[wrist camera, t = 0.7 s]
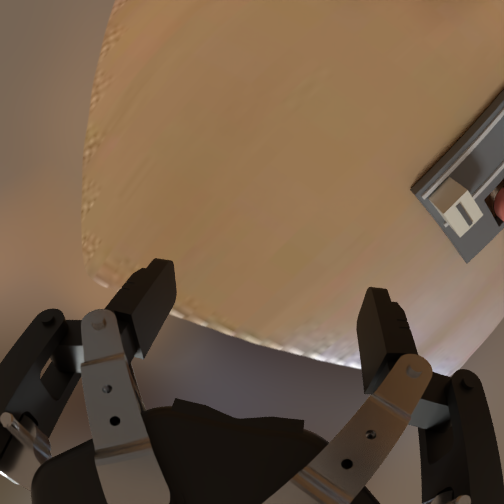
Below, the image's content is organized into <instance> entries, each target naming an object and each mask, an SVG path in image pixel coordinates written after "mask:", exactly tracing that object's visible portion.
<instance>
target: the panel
mask: <svg viewBox="0 0 504 504" xmlns="http://www.w3.org/2000/svg"><path fill="white" fill-rule="evenodd" d="M448 177H451V178H452V179H453V180H455V181H456V182H457V183H459V184H460V185H462V186H463V187H464V188H466V189H467V190H468V191H469V193H470V194H471V196H472V198H473V199H474V201H475V202H476V204H477V205H478V207H479V209H480V210H481V212H482V214H483V216H482V217H481V218H480V219H479V220H478V221H477V222H476V223H475V224H474V225H473V226H472V227H471V228H470V229H469V230H468V231H467V232H466V233H465V234H464V235H463V236H462V237H459V236H458V235H457V234H456V232H455V231H454V230H453V229H452V228H451V227H450V225H449V224H448V223H447V222H446V221H445V220H444V219H443V217H442V216H441V215H440V213H439V212H438V211H437V209H436V208H435V207H434V205H433V204H432V203H431V202H430V200H429V199H428V197H429V196H430V195H431V194H432V193H433V192H434V191H435V190H436V189H437V188H438V187H439V186H440V185H441V184H442V183H443V182H444V181H445V180H446V179H447V178H448ZM503 179H504V90H503V91H502V92H501V93H500V94H499V95H498V97H497V98H496V99H495V100H494V101H493V102H492V104H491V105H490V106H489V107H488V108H487V109H486V110H485V112H484V113H483V114H482V115H481V116H480V117H479V118H478V119H477V120H476V122H475V123H474V124H473V125H472V126H471V127H470V128H469V129H468V130H467V131H466V133H465V134H464V135H463V136H462V137H461V138H460V139H459V140H458V141H457V142H456V143H455V144H454V145H453V146H452V147H451V149H450V150H449V151H448V152H447V153H446V154H445V155H444V156H443V157H442V158H441V159H440V160H439V161H438V162H437V163H436V164H435V165H434V166H433V167H432V168H431V169H430V170H429V171H428V172H427V173H426V174H425V175H424V176H423V177H422V178H421V179H420V180H419V181H418V182H417V183H416V184H415V185H414V186H413V187H412V188H411V189H410V190H411V191H412V193H413V194H414V195H415V196H416V197H417V199H418V200H419V201H420V202H421V203H422V205H423V206H424V207H425V208H426V210H427V211H428V212H429V213H430V215H431V216H432V217H433V218H434V220H435V221H436V222H437V224H438V225H439V226H440V227H441V229H442V230H443V231H444V233H445V234H446V236H447V237H448V238H449V240H450V241H451V242H452V244H453V245H454V247H455V248H456V249H457V251H458V252H459V254H460V255H461V257H462V258H463V259H464V261H465V262H466V263H468V262H469V261H470V260H471V259H472V258H474V257H475V256H476V255H477V254H478V253H479V252H480V251H481V250H482V249H483V248H484V247H485V246H486V245H487V244H488V243H489V242H490V241H491V240H492V239H493V238H494V237H495V236H496V235H497V234H498V233H499V232H500V231H501V230H502V229H503V228H504V221H502V220H501V219H500V218H499V217H498V216H497V217H496V218H495V219H494V217H493V215H492V213H491V212H490V210H489V208H488V206H487V205H486V203H485V201H484V199H485V198H486V197H487V196H488V195H489V194H490V193H491V192H492V191H493V190H494V189H495V188H496V186H497V185H498V184H499V183H500V182H501V181H502V180H503Z"/></svg>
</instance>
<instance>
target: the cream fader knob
mask: <svg viewBox="0 0 504 504" xmlns="http://www.w3.org/2000/svg"><path fill="white" fill-rule="evenodd" d="M428 199H429V200H430V202H431V203H432V204H433V205H434V207H435V208H436V209H437V211H438V212H439V213H440V215H441V216H442V217H443V219H444V220H445V221H446V222H447V223H448V224H449V225H450V227H451V228H452V229H453V230H454V231H455V232H456V234H457V235H458V236H459V237H462V236H463V235H464V234H465V233H466V232H467V231H468V230H469V229H470V228H471V227H472V226H473V225H474V224H475V223H476V222H477V221H478V220H479V219H480V218H481V217H482V216H483V214H482V212H481V210H480V209H479V207H478V205H477V204H476V202H475V201H474V199H473V198H472V196H471V194H470V193H469V191H468V190H467V189H466V188H464V187H463V186H462V185H460V184H459V183H457V182H456V181H455V180H453V179H452V178H451V177H448V178H447V179H446V180H445V181H444V182H443V183H442V184H441V185H440V186H439V187H438V188H437V189H436V190H435V191H434V192H433V193H432V194H431V195H430V196H429V197H428Z"/></svg>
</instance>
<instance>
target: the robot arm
mask: <svg viewBox="0 0 504 504" xmlns="http://www.w3.org/2000/svg"><path fill="white" fill-rule="evenodd" d="M176 293H177V291H176V281H175V272H174V264H173V261H171V260H164V259H157V258H155V259H153V261H152V262H151V263H150V264H149V266H148V267H147V268H141V269H140V270H138V271H137V272H135V273H133V274H132V275H131V277H130V278H129V279H128V280H127V283H125V284H124V285H123V286H122V289H120V290H119V291H118V292H117V294H116V295H115V296H114V298H113V299H112V300H111V301H110V303H109V304H108V305H107V306H106V308H105V309H98V310H94V311H92V312H89V313H88V314H87V315H85V316H84V318H83V319H82V320H65V317H64V315H63V313H62V312H61V311H60V310H58V309H47V310H45V311H43V312H41V313H40V314H38V315H37V316H36V318H35V319H34V320H33V321H32V323H31V324H30V325H29V326H28V328H27V329H26V330H25V332H24V333H23V334H22V335H21V336H20V338H19V339H18V340H17V342H16V343H15V344H14V346H13V347H12V348H11V350H10V351H9V352H8V354H7V355H6V356H5V358H4V359H3V361H2V362H1V363H0V475H2V476H4V477H6V478H7V479H9V480H10V481H12V482H14V483H16V484H20V485H22V486H23V487H25V488H26V489H27V490H29V491H31V497H32V504H380V503H379V502H378V500H377V499H376V498H375V497H374V496H373V495H372V494H371V492H370V491H369V490H368V489H367V487H366V486H365V485H366V483H367V482H368V481H369V480H370V478H371V477H372V476H373V474H374V473H375V472H376V471H377V469H378V468H379V466H380V465H381V464H382V462H383V461H384V459H385V458H386V457H387V455H388V454H389V452H390V451H391V449H392V448H393V447H394V445H395V444H396V442H397V441H398V439H399V438H400V436H401V435H402V433H403V431H404V430H405V428H406V426H407V425H412V426H416V427H418V433H419V444H420V458H421V476H422V477H421V479H422V504H504V484H503V476H502V469H501V463H500V456H499V451H498V446H497V441H496V436H495V432H494V427H493V423H492V419H491V415H490V411H489V407H488V404H487V401H486V397H485V393H484V390H483V387H482V383H481V381H480V379H479V378H478V376H477V375H476V374H474V373H473V372H471V371H469V370H465V369H460V370H458V371H456V372H455V373H454V374H453V376H452V377H448V376H444V375H441V374H438V373H435V372H433V371H432V367H431V365H430V364H429V362H428V361H427V360H426V359H424V358H423V357H421V356H419V355H418V353H417V349H416V346H415V343H414V339H413V336H412V333H411V330H410V329H409V328H410V327H409V324H408V322H407V318H406V315H405V312H404V310H403V309H402V308H401V307H400V305H399V304H398V303H397V302H391V299H390V296H389V293H388V290H387V289H383V288H374V287H369V288H368V289H367V291H366V294H365V297H364V301H363V304H362V307H361V309H360V312H359V315H358V319H357V337H358V344H359V351H360V359H361V368H362V377H363V386H364V394H371V395H370V397H369V398H368V399H367V400H366V402H365V403H364V404H363V405H362V406H361V408H360V409H359V410H358V411H357V412H356V414H355V415H354V416H353V417H352V418H351V420H350V421H349V422H348V423H347V424H346V425H345V426H344V428H343V429H342V430H341V431H340V432H339V433H338V434H337V435H336V436H335V437H334V439H333V440H332V441H331V442H330V443H329V442H328V441H326V440H325V439H324V438H322V437H320V436H319V435H317V434H315V433H313V432H311V431H308V430H306V429H304V420H298V419H288V418H279V417H261V418H245V419H237V418H233V417H231V416H229V415H226V414H224V413H222V412H220V411H217V410H215V409H213V408H211V407H208V406H206V405H202V404H198V403H193V402H189V401H185V400H180V399H177V398H175V401H174V403H173V406H165V407H157V408H153V409H149V410H146V408H145V406H144V403H143V400H142V397H141V395H140V391H139V388H138V385H137V382H136V378H135V375H134V371H133V368H132V365H131V361H132V359H133V358H134V357H137V358H141V359H144V358H145V356H146V354H147V352H148V351H149V349H150V347H151V345H152V343H153V341H154V340H155V338H156V336H157V334H158V332H159V330H160V329H161V327H162V325H163V323H164V321H165V320H166V318H167V316H168V314H169V313H170V311H171V309H172V307H173V305H174V303H175V300H176ZM49 358H51V360H52V362H51V363H50V365H49V367H48V368H47V370H46V371H45V373H44V374H43V376H42V378H41V379H40V373H41V370H42V369H43V367H44V366H45V364H46V362H47V361H48V359H49ZM80 377H82V384H83V390H84V397H85V403H86V409H87V415H88V420H89V425H90V430H91V434H92V439H90V440H88V441H86V442H84V443H82V444H80V445H78V446H76V447H74V448H72V449H70V450H67V451H65V452H63V453H61V454H59V455H57V456H55V457H52V455H51V452H50V451H51V444H50V441H49V437H50V435H51V433H52V431H53V429H54V427H55V425H56V423H57V421H58V419H59V417H60V415H61V413H62V411H63V409H64V407H65V405H66V403H67V401H68V399H69V398H70V396H71V394H72V392H73V390H74V388H75V386H76V385H77V383H78V381H79V379H80Z"/></svg>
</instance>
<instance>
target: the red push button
mask: <svg viewBox="0 0 504 504" xmlns="http://www.w3.org/2000/svg"><path fill="white" fill-rule="evenodd" d="M494 210H495V213H496V215H497V216H498V217H499V218H500V219H501V220H502V221H504V188H502V189H501V190H500V191H499V192H498V193H497V195H496V197H495V201H494Z"/></svg>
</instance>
